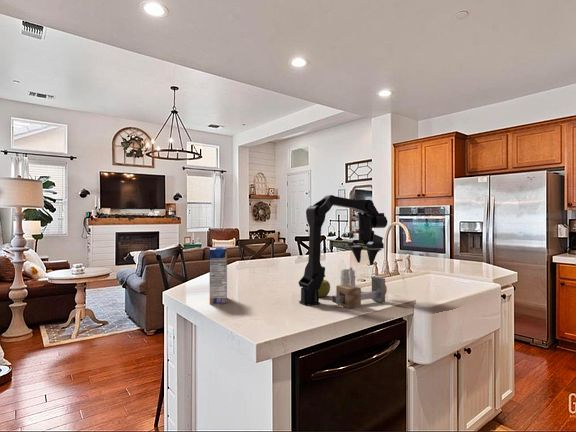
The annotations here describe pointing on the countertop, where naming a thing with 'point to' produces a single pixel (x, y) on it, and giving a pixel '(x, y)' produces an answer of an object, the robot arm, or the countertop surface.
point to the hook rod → (375, 294)
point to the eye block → (349, 295)
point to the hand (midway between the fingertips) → (365, 263)
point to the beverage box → (218, 275)
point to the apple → (324, 288)
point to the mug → (348, 277)
